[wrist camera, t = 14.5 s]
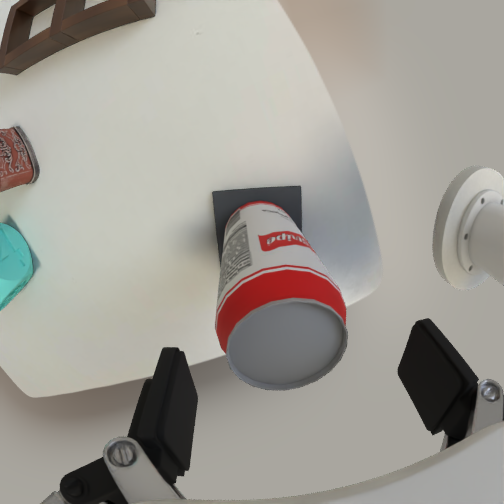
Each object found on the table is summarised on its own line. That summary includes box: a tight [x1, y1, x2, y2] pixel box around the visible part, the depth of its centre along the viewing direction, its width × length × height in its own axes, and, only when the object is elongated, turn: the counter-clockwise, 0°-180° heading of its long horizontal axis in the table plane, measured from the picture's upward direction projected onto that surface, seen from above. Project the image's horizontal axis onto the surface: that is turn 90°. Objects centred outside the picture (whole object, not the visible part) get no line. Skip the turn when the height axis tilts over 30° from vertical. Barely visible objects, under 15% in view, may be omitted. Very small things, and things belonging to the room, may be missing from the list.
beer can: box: [215, 201, 348, 390], centre depth 18 cm, size 6×6×16 cm
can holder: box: [0, 0, 156, 75], centre depth 13 cm, size 19×10×4 cm, turn 94°
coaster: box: [212, 186, 302, 267], centre depth 25 cm, size 8×8×1 cm
